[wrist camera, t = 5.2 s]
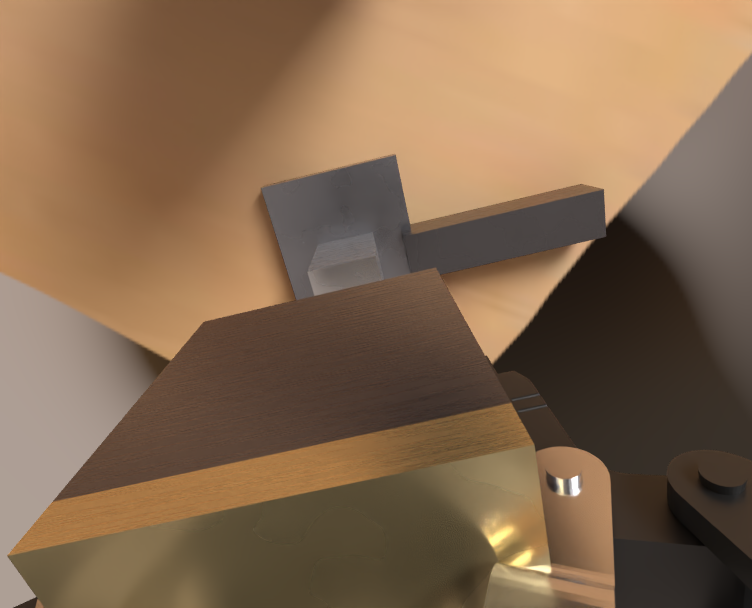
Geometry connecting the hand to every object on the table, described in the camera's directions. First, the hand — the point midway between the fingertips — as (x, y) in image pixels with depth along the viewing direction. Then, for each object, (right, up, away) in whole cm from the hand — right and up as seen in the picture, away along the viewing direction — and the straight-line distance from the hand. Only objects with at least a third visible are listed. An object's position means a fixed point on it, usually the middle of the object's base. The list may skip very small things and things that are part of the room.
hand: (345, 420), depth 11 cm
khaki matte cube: (0, 0, +1) cm, 1 cm away
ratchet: (+4, +6, +14) cm, 16 cm away
